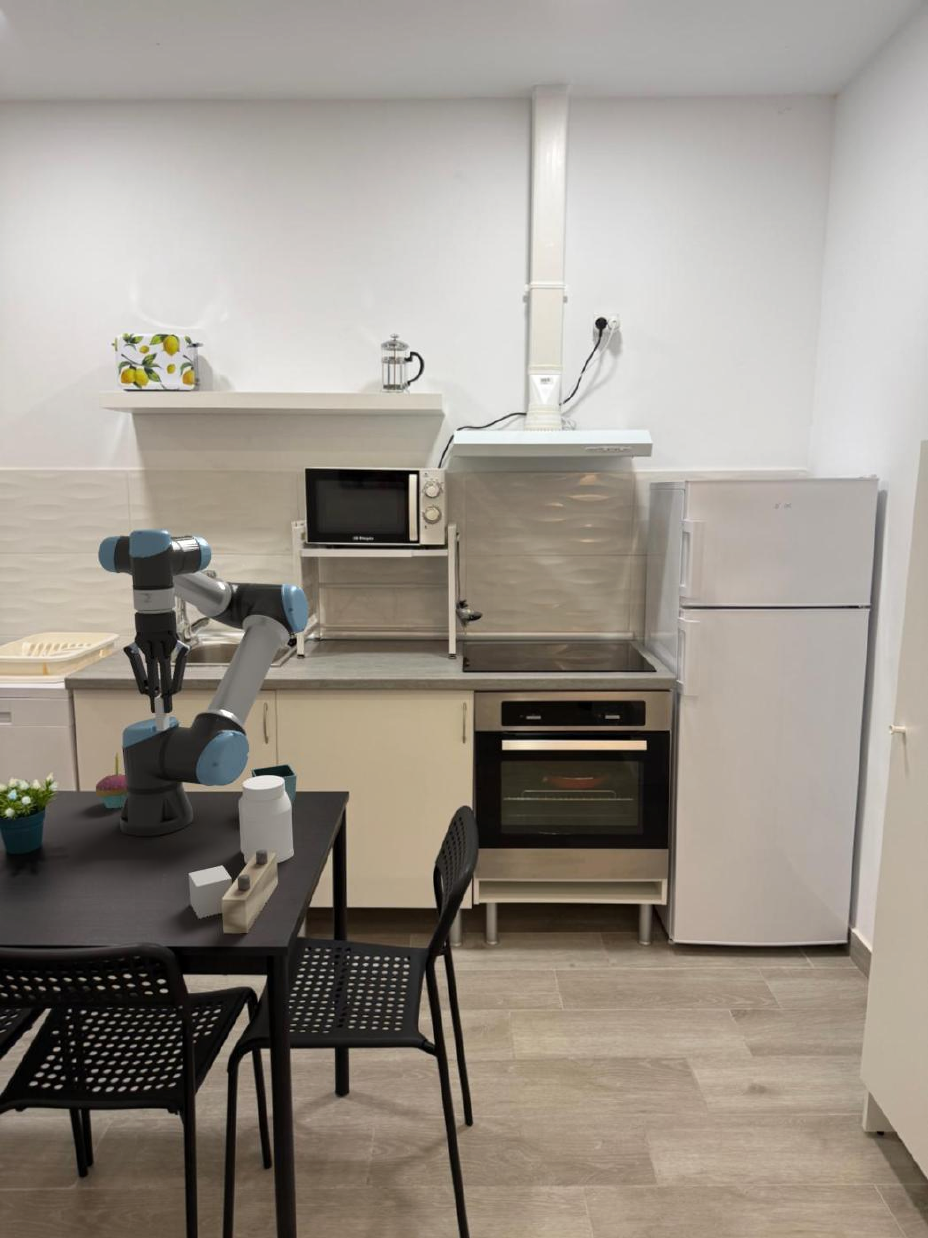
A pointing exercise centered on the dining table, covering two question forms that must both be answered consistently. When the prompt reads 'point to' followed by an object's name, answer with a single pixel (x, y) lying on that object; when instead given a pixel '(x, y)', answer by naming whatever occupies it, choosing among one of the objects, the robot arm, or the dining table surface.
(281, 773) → the flower pot
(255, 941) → the dining table surface
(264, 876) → the block
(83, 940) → the dining table surface
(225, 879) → the white cube
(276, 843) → the jar
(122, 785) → the cupcake
